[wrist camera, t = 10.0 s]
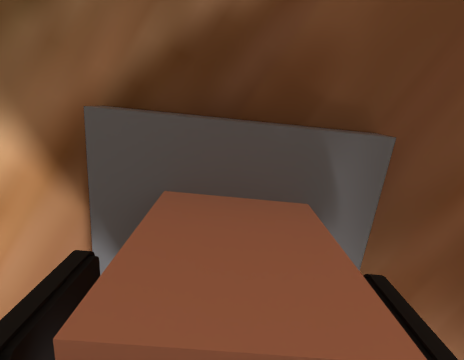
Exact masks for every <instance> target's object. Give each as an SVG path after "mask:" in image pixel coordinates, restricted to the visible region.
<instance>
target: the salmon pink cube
mask: <svg viewBox="0 0 464 360" xmlns="http://www.w3.org/2000/svg"><path fill="white" fill-rule="evenodd" d="M53 345H54V353H55V360H427V359H426V357H425V356H424V355H423V354H422V352H421V351H420V350H419V348H418V347H417V346H416V344H415V343H414V342H413V341H412V339H411V338H410V337H409V335H408V334H407V333H406V331H405V330H404V329H403V327H402V326H401V325H400V324H399V322H398V321H397V320H396V318H395V317H394V316H393V314H392V313H391V312H390V310H389V309H388V308H387V307H386V305H385V304H384V303H383V301H382V300H381V299H380V297H379V296H378V295H377V294H376V292H375V291H374V290H373V288H372V287H371V286H370V284H369V283H368V282H367V280H366V279H365V278H364V277H363V275H362V274H361V273H360V271H359V270H358V269H357V267H356V266H355V265H354V263H353V262H352V261H351V260H350V258H349V257H348V256H347V254H346V253H345V252H344V250H343V249H342V248H341V246H340V245H339V244H338V243H337V241H336V240H335V239H334V237H333V236H332V235H331V233H330V232H329V231H328V230H327V228H326V227H325V226H324V224H323V223H322V222H321V220H320V219H319V218H318V216H317V215H316V214H315V213H314V211H313V210H312V209H311V207H310V206H309V205H308V204H302V203H291V202H280V201H269V200H259V199H248V198H237V197H226V196H215V195H204V194H193V193H182V192H171V191H164V192H163V193H162V194H161V196H160V197H159V198H158V200H157V201H156V202H155V204H154V205H153V206H152V208H151V209H150V210H149V212H148V213H147V214H146V216H145V217H144V218H143V220H142V221H141V222H140V224H139V225H138V226H137V228H136V229H135V230H134V232H133V233H132V234H131V236H130V237H129V238H128V240H127V241H126V242H125V244H124V245H123V246H122V248H121V249H120V250H119V252H118V253H117V254H116V256H115V257H114V258H113V260H112V261H111V262H110V264H109V265H108V266H107V268H106V269H105V270H104V272H103V273H102V274H101V276H100V277H99V278H98V280H97V281H96V282H95V284H94V285H93V286H92V288H91V289H90V290H89V292H88V293H87V294H86V296H85V297H84V298H83V300H82V301H81V302H80V304H79V305H78V306H77V308H76V309H75V310H74V312H73V313H72V314H71V316H70V317H69V318H68V320H67V321H66V322H65V324H64V325H63V326H62V328H61V329H60V330H59V331H58V333H57V334H56V335H55V337H54V338H53Z"/></svg>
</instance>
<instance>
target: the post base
mask: <svg viewBox="0 0 464 360" xmlns="http://www.w3.org/2000/svg"><path fill="white" fill-rule="evenodd" d="M84 119H85V136H86V152H87V169H88V185H89V202H90V218H91V235H92V251H93V252H94V254H95V256H98V257H99V262H100V276H101V274H102V273H103V272H104V270H105V269H106V268H107V266H108V265H109V264H110V262H111V261H112V260H113V258H114V257H115V256H116V254H117V253H118V252H119V250H120V249H121V248H122V246H123V245H124V244H125V242H126V241H127V240H128V238H129V237H130V236H131V234H132V233H133V232H134V230H135V229H136V228H137V226H138V225H139V224H140V222H141V221H142V220H143V218H144V217H145V216H146V214H147V213H148V212H149V210H150V209H151V208H152V206H153V205H154V204H155V202H156V201H157V200H158V198H159V197H160V196H161V194H162V193H163V192H164V191H171V192H182V193H193V194H204V195H215V196H226V197H237V198H248V199H259V200H269V201H280V202H291V203H302V204H308V205H309V206H310V207H311V209H312V210H313V211H314V213H315V214H316V215H317V216H318V218H319V219H320V220H321V222H322V223H323V224H324V226H325V227H326V228H327V230H328V231H329V232H330V233H331V235H332V236H333V237H334V239H335V240H336V241H337V243H338V244H339V245H340V246H341V248H342V249H343V250H344V252H345V253H346V254H347V256H348V257H349V258H350V260H351V261H352V262H353V263H354V265H355V266H356V267H357V269H358V270H360V267H361V263H362V260H363V256H364V252H365V249H366V245H367V241H368V238H369V234H370V231H371V227H372V223H373V220H374V216H375V213H376V209H377V205H378V202H379V198H380V194H381V191H382V187H383V184H384V180H385V176H386V173H387V169H388V166H389V162H390V158H391V155H392V151H393V148H394V144H395V140H396V138H395V137H391V136H386V135H381V134H376V133H367V132H358V131H348V130H338V129H328V128H318V127H308V126H298V125H288V124H278V123H269V122H259V121H249V120H239V119H229V118H219V117H209V116H199V115H189V114H180V113H170V112H160V111H150V110H140V109H130V108H120V107H110V106H84Z"/></svg>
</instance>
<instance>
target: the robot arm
mask: <svg viewBox="0 0 464 360" xmlns="http://www.w3.org/2000/svg"><path fill="white" fill-rule="evenodd" d="M99 277H100V262H99V257H98V256H95V254H94V252H92V251H81V250H75V251H73V252H72V253H71V254H70V255H69V256H68V257H67V258H66V259H65V260H64V261H63V262H62V263H60V264H59V265H58V266H57V267H56V268H55V269H54V270H53V271H52V272H51V273H50V274H49V275H48V276H47V277H46V278H45V279H44V280H42V281H41V282H40V283H39V284H38V285H37V286H36V287H35V288H34V289H33V290H32V291H31V292H30V293H29V294H28V295H27V296H26V297H25V298H23V299H22V300H21V301H20V302H19V303H18V304H17V305H16V306H15V307H14V308H13V309H12V310H11V311H10V312H9V313H8V314H7V315H5V316H4V317H3V318H2V319H1V320H0V360H55V353H54V345H53V338H54V337H55V335H56V334H57V333H58V331H59V330H60V329H61V328H62V326H63V325H64V324H65V322H66V321H67V320H68V318H69V317H70V316H71V314H72V313H73V312H74V310H75V309H76V308H77V306H78V305H79V304H80V302H81V301H82V300H83V298H84V297H85V296H86V294H87V293H88V292H89V290H90V289H91V288H92V286H93V285H94V284H95V282H96V281H97V280H98V278H99ZM363 277H364V278H365V279H366V280H367V282H368V283H369V284H370V286H371V287H372V288H373V290H374V291H375V292H376V294H377V295H378V296H379V297H380V299H381V300H382V301H383V303H384V304H385V305H386V307H387V308H388V309H389V310H390V312H391V313H392V314H393V316H394V317H395V318H396V320H397V321H398V322H399V324H400V325H401V326H402V327H403V329H404V330H405V331H406V333H407V334H408V335H409V337H410V338H411V339H412V341H413V342H414V343H415V344H416V346H417V347H418V348H419V350H420V351H421V352H422V354H423V355H424V356H425V357H426V359H427V360H458V359H457V358H456V357H455V356H454V354H453V353H452V352H451V351H450V350H449V349H448V348H447V347H446V345H445V344H444V343H443V342H442V341H441V340H440V339H439V338H438V336H437V335H436V334H435V333H434V332H433V331H432V330H431V329H430V327H429V326H428V325H427V324H426V323H425V322H424V321H423V320H422V318H421V317H420V316H419V315H418V314H417V313H416V312H415V310H414V309H413V308H412V307H411V306H410V305H409V304H408V303H407V301H406V300H405V299H404V298H403V297H402V296H401V295H400V294H399V292H398V291H397V290H396V289H395V288H394V287H393V286H392V285H391V283H390V282H389V281H388V280H387V279H386V278H385V277H384V276H382V275H372V274H365V275H364V276H363Z"/></svg>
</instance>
